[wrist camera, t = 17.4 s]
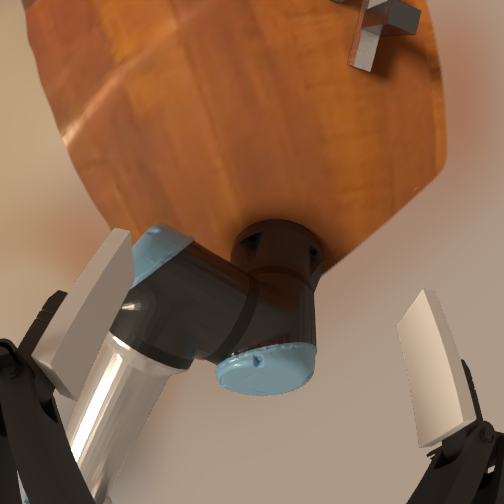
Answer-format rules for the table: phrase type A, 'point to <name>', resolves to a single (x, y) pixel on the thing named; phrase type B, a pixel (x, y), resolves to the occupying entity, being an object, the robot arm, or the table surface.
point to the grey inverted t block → (380, 28)
